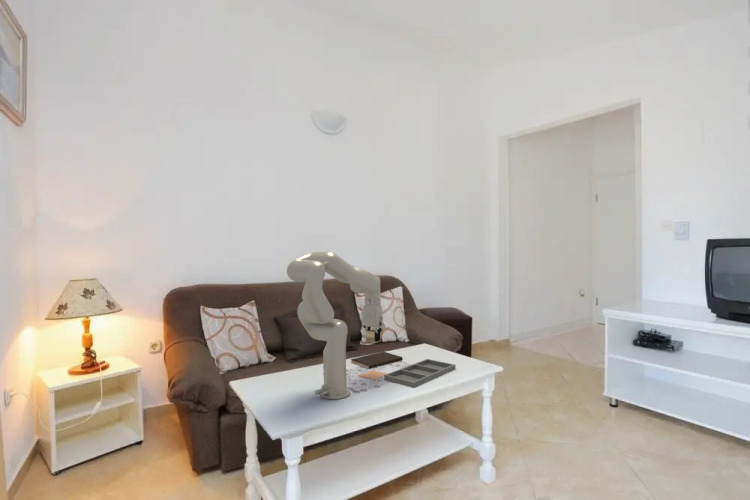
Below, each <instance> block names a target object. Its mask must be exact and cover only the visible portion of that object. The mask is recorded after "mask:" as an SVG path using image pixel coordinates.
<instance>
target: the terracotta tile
mask: <svg viewBox="0 0 750 500" xmlns="http://www.w3.org/2000/svg"><path fill="white" fill-rule="evenodd" d="M386 374H388V373H385V372H382V371H378V370H374V369H372V370H369V371H367V372H363V373H360V374H359V375H358V377H360V378H363V379H367V380H371V381H376V380H378V379H380V378H384V375H386Z"/></svg>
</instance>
